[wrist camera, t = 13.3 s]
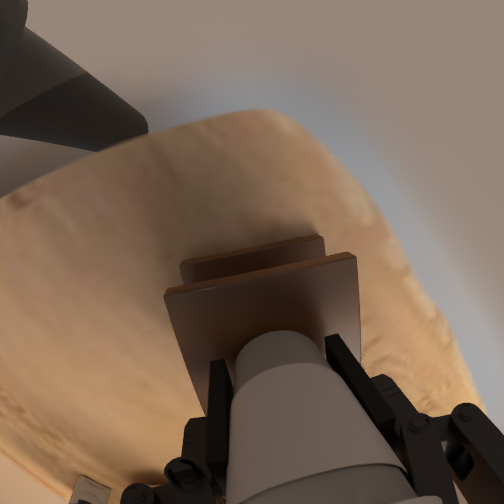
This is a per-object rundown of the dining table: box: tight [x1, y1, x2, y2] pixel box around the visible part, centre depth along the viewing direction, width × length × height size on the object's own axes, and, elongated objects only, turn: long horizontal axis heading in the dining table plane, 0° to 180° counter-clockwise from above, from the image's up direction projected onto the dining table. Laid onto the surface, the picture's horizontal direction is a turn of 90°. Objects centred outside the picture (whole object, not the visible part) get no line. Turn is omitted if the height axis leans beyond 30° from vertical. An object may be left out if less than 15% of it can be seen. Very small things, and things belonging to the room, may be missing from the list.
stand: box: [163, 234, 361, 417], centre depth 19 cm, size 10×10×7 cm
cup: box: [225, 330, 443, 504], centre depth 9 cm, size 7×7×12 cm
